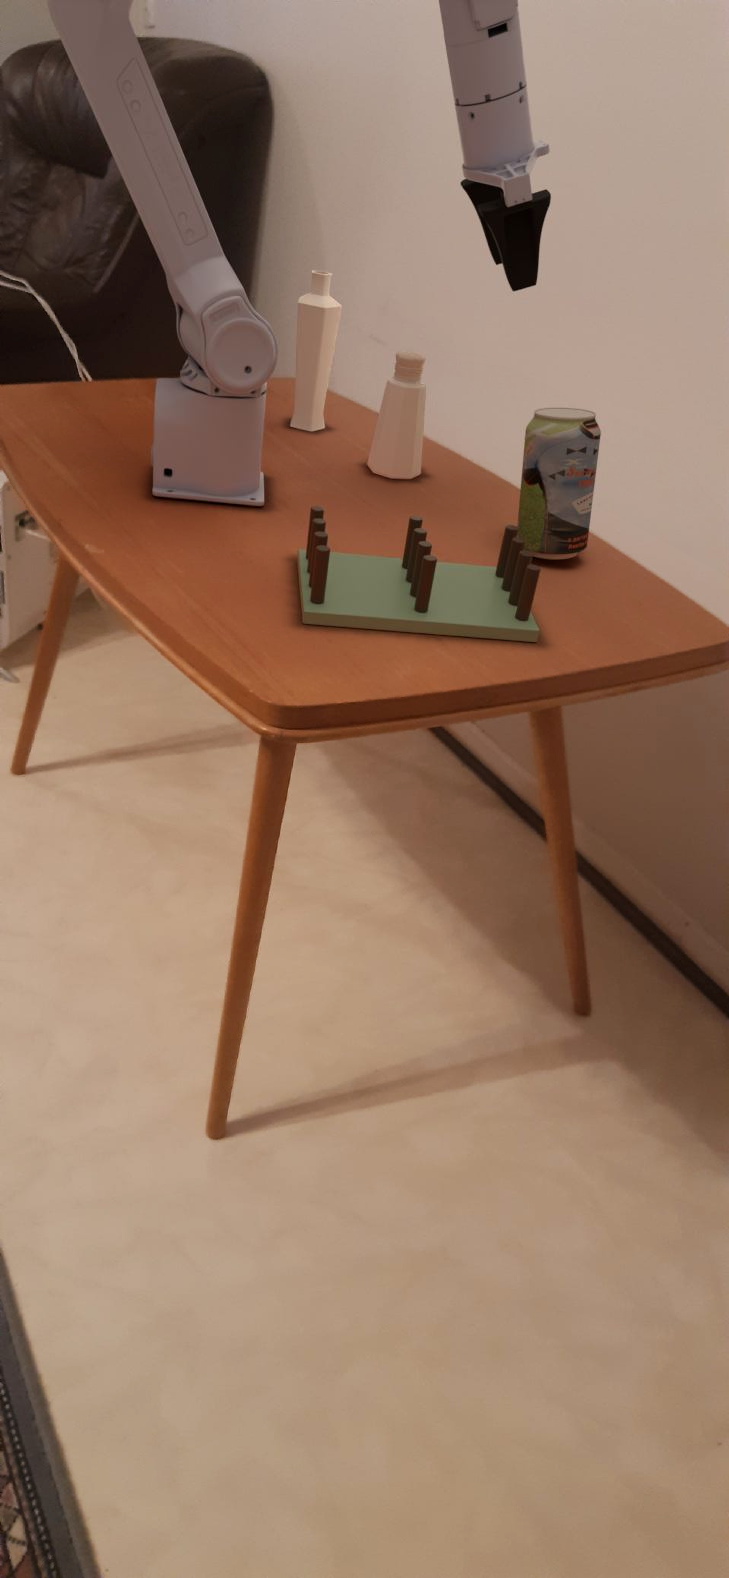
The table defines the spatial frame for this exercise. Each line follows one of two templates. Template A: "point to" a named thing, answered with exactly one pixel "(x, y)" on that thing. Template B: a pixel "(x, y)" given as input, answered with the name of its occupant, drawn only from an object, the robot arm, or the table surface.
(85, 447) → the table surface
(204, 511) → the table surface
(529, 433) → the beverage can
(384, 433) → the salt shaker
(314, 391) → the perfume bottle
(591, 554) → the table surface
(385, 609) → the rack
